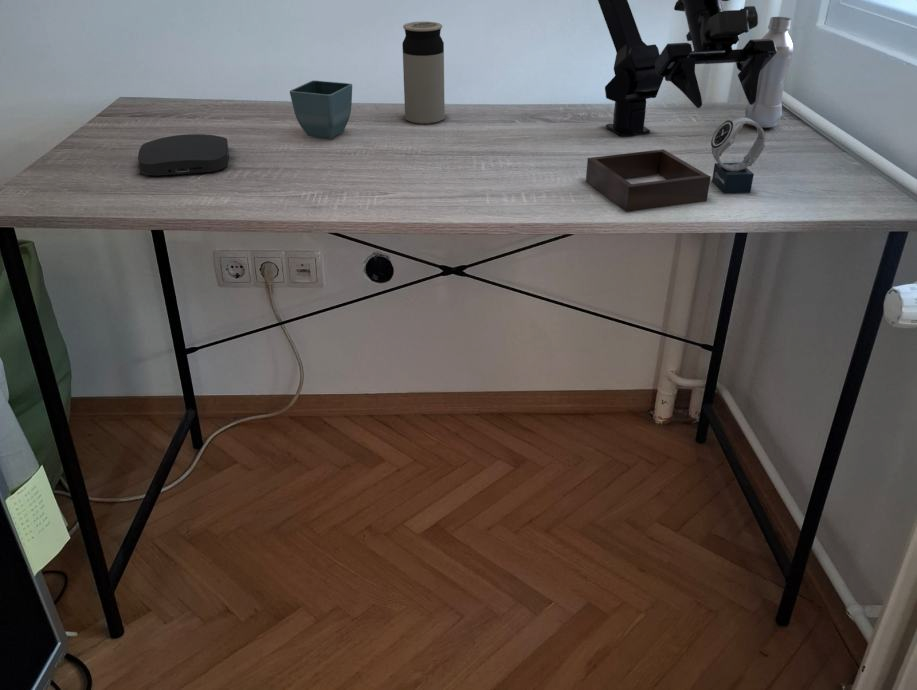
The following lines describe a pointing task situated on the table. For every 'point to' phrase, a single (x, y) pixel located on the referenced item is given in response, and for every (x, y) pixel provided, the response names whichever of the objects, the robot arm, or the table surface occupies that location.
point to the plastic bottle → (772, 76)
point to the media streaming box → (183, 154)
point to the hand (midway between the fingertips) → (726, 105)
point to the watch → (734, 174)
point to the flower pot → (322, 107)
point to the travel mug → (423, 72)
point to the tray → (675, 190)
